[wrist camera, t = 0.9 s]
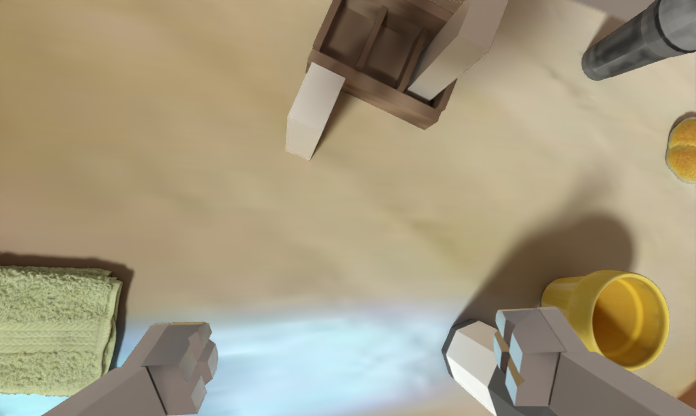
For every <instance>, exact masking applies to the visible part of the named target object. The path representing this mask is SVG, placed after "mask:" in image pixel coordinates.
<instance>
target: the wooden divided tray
mask: <svg viewBox="0 0 696 416" xmlns="http://www.w3.org/2000/svg"><path fill="white" fill-rule="evenodd" d="M453 15H454V14H453V13H451V12H450V11H448V10H446V9H444V8H442V7H440V6H438V5H436V4H435V3H433V2H431V1H429V0H333V1H332V4H331V6H330V8H329V10H328V12H327V15H326V17H325V19H324V21H323V24H322V26H321V28H320V30H319V33H318V35H317V37H316V39H315V41H314V44H313V48H312V51H311V53H310V55H309V57H308V62H307V68H306V73H307V72H308V70H309V68H310V66H311V63H312V62H313V63H315V64H317V65H319V66H321V67H323V68H325V69H328V70H330V71H332V72H334V73H336V74H338V75H340V76H342V77H344V78H345V81H344V83H343V85H342V88H341V90H342V91H345V92H347V93H349V94H351V95H353V96H355V97H357V98H359V99H361V100H363V101H365V102H367V103H369V104H372V105H374V106H376V107H378V108H380V109H382V110H384V111H386V112H388V113H390V114H392V115H394V116H396V117H399V118H401V119H403V120H405V121H407V122H409V123H411V124H413V125H415V126H417V127H419V128H421V129H423V130H425V129H427V128H428V127H430V126H431V125H433V124H434V123H436V122H437V121H438V119H439V116H440V114H441V112H442V111H443V110H445V108H446V105H447V103H448V100H449V98H450V95H451V93H452V90H453V88H454V85H455V83H456V80H457V78H456V79H455V80H454V81H453V82H452V83H450V84H449V85H448V86H447V87H446V88H444V89H443V90H442V91H441V92H440V93H438V94H437V95H436V96H435V97H434V98H432V99H431V100H430V101H429V102H428V103H424V102H422V101H420V100H418V99H416V98H414V97H412V96H410V95H408V94H406V93H404V92H405V90H406V87H407V85H408V82H409V80H410V78H411V75H412V73H413V70H414V68H415V65H416V63H417V61H418V58H419V56H420V55H421V54H422V52H423V51H424V50H425V49H426V47H427V46H428V45H429V44H430V43H431V41H432V40H433V39H434V38H435V36H436V35H437V34H438V33H439V32H440V30H441V29H442V28H443V27H444V25H445V24H446V23H447V22H448V21H449V19H450V18H451V17H452V16H453Z"/></svg>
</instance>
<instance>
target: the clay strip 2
mask: <svg viewBox="0 0 696 416" xmlns="http://www.w3.org/2000/svg"><path fill="white" fill-rule="evenodd" d="M508 1H509V0H465V1H464V2H463V4H462V5H461V6H460V7H459V8H458V10H457V11H456V12H455V13H454V15H453V16H452V17H451V18H450V19H449V21H448V22H447V23H446V24H445V25H444V27H443V28H442V29H441V30H440V32H439V33H438V34H437V35H436V36H435V38H434V39H433V40H432V41H431V43H430V44H429V45H428V46H427V47H426V49H425V50H424V51H423V52H422V54H421V55H420V56H419V58H418V61H417V63H416V65H415V68H414V70H413V73H412V75H411V78H410V80H409V82H408V85H407V87H406V90H405V92H404V93H406V94H408V95H410V96H412V97H414V98H416V99H418V100H420V101H422V102H424V103H428V102H429V101H430V100H431V99H432V98H434V97H435V96H436V95H437V94H438V93H440V92H441V91H442V90H443V89H444V88H446V87H447V86H448V85H449V84H450V83H452V82H453V81H454V80H455V79H456V78H458V77H459V76H460V75H461V74H462V73H464V72H465V71H466V70H467V69H468V68H470V67H471V66H472V65H473V64H474V63H476V62H477V61H478V60H479V59H480V58H482V57H483V56H484V55H485V54H486V53H488V52H489V50H490V47H491V45H492V42H493V39H494V37H495V34H496V32H497V29H498V27H499V24H500V22H501V19H502V16H503V14H504V11H505V9H506V6H507V4H508Z"/></svg>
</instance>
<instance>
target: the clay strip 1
mask: <svg viewBox="0 0 696 416" xmlns="http://www.w3.org/2000/svg"><path fill="white" fill-rule="evenodd" d="M344 81H345V78H344V77H342V76H340V75H338V74H336V73H334V72H332V71H330V70H328V69H325V68H323V67H321V66H319V65H317V64H315V63H313V62H312V63H311V66H310V68H309V70H308V72H307V74H306V77H305V79H304V81H303V83H302V86H301V88H300V90H299V92H298V95H297V97H296V99H295V101H294V104H293V106H292V108H291V110H290V113H289V115H288V119H287V135H286V151H288V152H290V153H292V154H295V155H297V156H299V157H301V158H304V159H306V160H308V161H310V158H311V156H312V154H313V152H314V149H315V147H316V145H317V143H318V140H319V138H320V136H321V134H322V131H323V129H324V127H325V125H326V122H327V120H328V118H329V115H330V113H331V111H332V108H333V106H334V104H335V101H336V99H337V97H338V95H339V92H340V90H341V88H342V85H343V83H344Z"/></svg>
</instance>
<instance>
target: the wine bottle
mask: <svg viewBox="0 0 696 416" xmlns="http://www.w3.org/2000/svg"><path fill="white" fill-rule="evenodd" d="M496 331H497V329H495V328H493V327H491V326H489V325H487V324H485V323H483V322H480V321H478V320H476V319H471V320H468V321H466V322H463V323H461V324H459V325H456V326H454V327H451V329H450V332H449V334H448V336H447V339H446V341H445V343H444V346H443V348H442V350H441V351H442V354H443V357H444V360H445V363H446V366H447V369H448V372H449V374H450V375H451V377H452V378H453V379H454V380H456V381H457V382H458V383H459V384H460V385H461V386H462V387H463V388H464V389H466V390H467V391H468V392H469V393H470V394H471V395H472V396H473V397H475V398H476V399H477V400H478V401H479V402H480V403H481V404H482V405H484V406H485V407H486V408H487V409H488V410H489V411H490V412H491V413H492V414H494V415H495V416H557V415H556V414H555V413H554V412H553V411H552V410H551V409H550V408H549V406H514V404H513V401H512V399H511V396H510V394H509V391H508V389H507V387H506V384H505V382H506V374H505V373H503V372H502V371H501V370H500V369H499V367H498V364H497V361H496V358H495V354H494V345H493V342H494V333H495V332H496Z"/></svg>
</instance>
